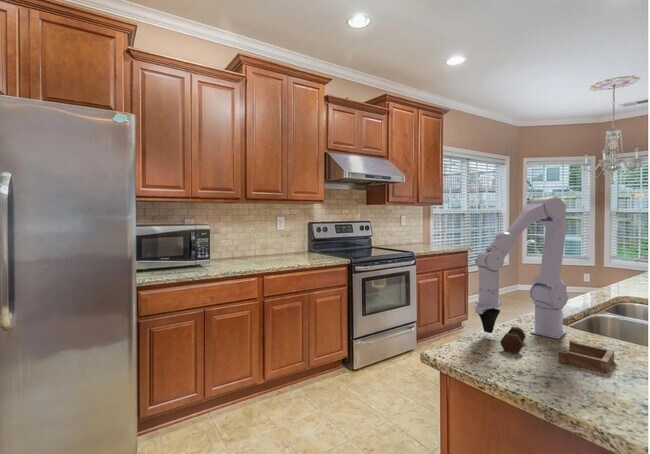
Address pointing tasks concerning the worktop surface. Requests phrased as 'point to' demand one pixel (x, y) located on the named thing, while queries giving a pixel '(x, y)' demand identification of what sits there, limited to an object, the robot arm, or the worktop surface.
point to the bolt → (513, 340)
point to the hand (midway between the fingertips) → (488, 331)
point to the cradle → (587, 356)
